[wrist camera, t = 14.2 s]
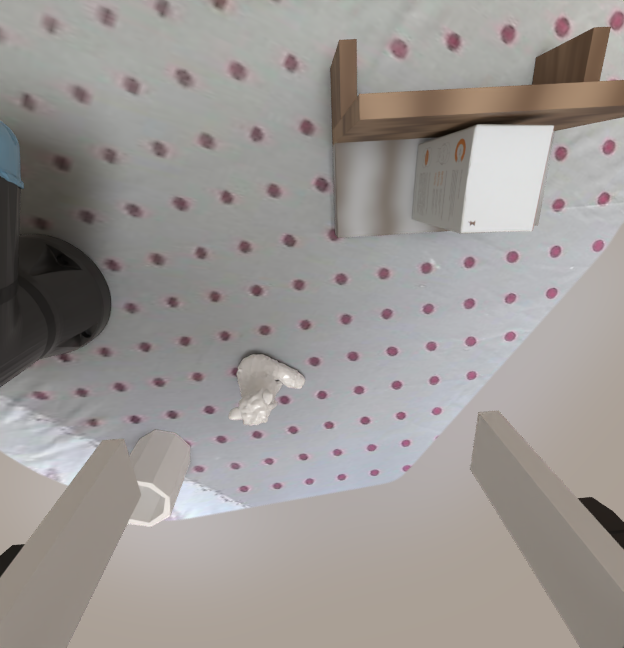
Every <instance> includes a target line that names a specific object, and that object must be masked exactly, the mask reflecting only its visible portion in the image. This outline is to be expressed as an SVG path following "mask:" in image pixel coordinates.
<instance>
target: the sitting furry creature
mask: <svg viewBox="0 0 624 648" xmlns="http://www.w3.org/2000/svg"><path fill="white" fill-rule="evenodd" d="M236 375H237V378H238V384H239V387H240V389H241V390H240V392H241V396H242V399H241V400H240V401H239V407H237V408H234V409H232V410H231V411H230V413H229V419H230V420H241V419H242V420H243V424H244V425H247V424H248V425H249V426H252V425H258V424H259V423H262V422H263V423H266V422H267V420H268V417H269V415H270V412H271V410H272V409H274V408H275V407H276V406H277V401H275V400H274V399H275V397H276V394H277V393H278V390H280V389H281V386H282V385H283V384H285V385H286V386H287V387H288V388H296V389H301V388H302V385H304V383H305V378H304V376H303V375H301V374H300V373H299V372H298V371H297V370H294V369H293V368H290V367H289V366H286V365H285V364H283V363H279V362H278V361H277V360H274V359H271V358H270V357H268V356H265V355H264V354H252V355H249V356H248V357H246V358H244V359H243V360H242V361H241V363H240V365H239V367H238V371H237V374H236Z"/></svg>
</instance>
